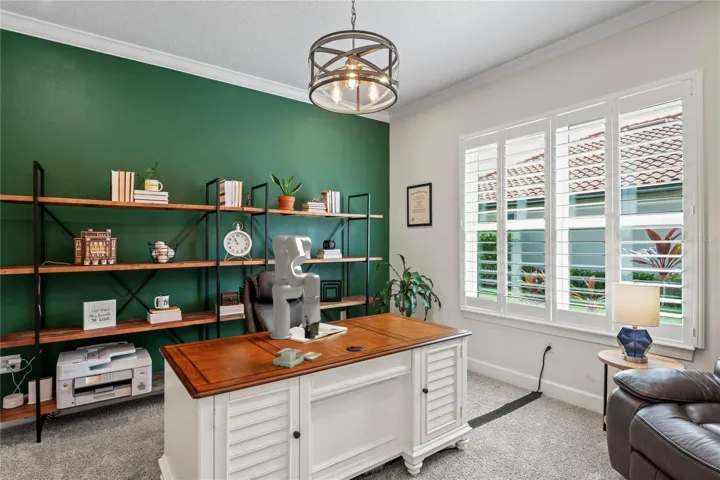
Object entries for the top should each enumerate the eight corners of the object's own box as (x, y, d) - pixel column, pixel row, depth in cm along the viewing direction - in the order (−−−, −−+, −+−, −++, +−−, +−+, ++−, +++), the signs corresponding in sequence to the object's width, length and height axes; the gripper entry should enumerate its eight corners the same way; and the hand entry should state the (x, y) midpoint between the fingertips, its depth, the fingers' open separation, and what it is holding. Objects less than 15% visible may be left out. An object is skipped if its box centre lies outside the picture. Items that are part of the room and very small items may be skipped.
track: (276, 355, 183) (276, 352, 183) (287, 350, 192) (287, 347, 192) (312, 361, 175) (312, 359, 175) (322, 356, 183) (322, 353, 183)
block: (281, 362, 171) (281, 351, 171) (287, 359, 176) (287, 348, 176) (290, 364, 169) (290, 352, 169) (296, 360, 174) (296, 349, 174)
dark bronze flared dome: (304, 337, 183) (304, 321, 183) (319, 336, 184) (319, 320, 184) (303, 341, 176) (303, 324, 176) (318, 341, 177) (319, 324, 177)
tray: (273, 364, 170) (273, 360, 170) (286, 358, 179) (286, 354, 179) (291, 368, 166) (291, 363, 166) (303, 361, 175) (303, 357, 175)
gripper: (314, 297, 189) (314, 332, 189) (295, 302, 174) (294, 340, 174) (327, 298, 186) (327, 333, 186) (308, 303, 170) (308, 342, 171)
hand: (311, 336), depth 180 cm, fingers closed on dark bronze flared dome, 6 cm apart
